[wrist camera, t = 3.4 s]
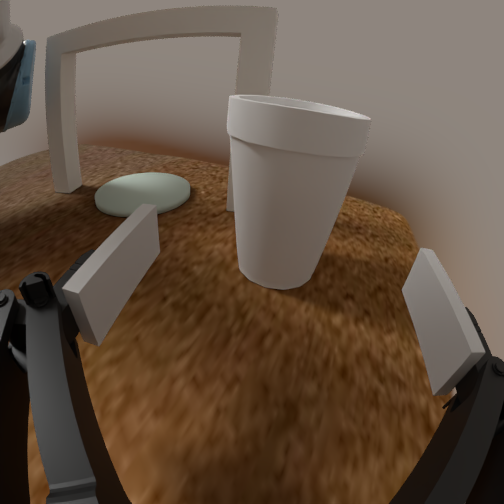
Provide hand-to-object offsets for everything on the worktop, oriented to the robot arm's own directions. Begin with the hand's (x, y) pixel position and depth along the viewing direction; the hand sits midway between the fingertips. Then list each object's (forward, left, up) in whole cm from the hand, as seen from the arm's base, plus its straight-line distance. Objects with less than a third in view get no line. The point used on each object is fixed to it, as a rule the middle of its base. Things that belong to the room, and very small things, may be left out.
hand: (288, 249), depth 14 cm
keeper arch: (-17, +18, -7) cm, 26 cm away
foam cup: (0, +8, -7) cm, 11 cm away
